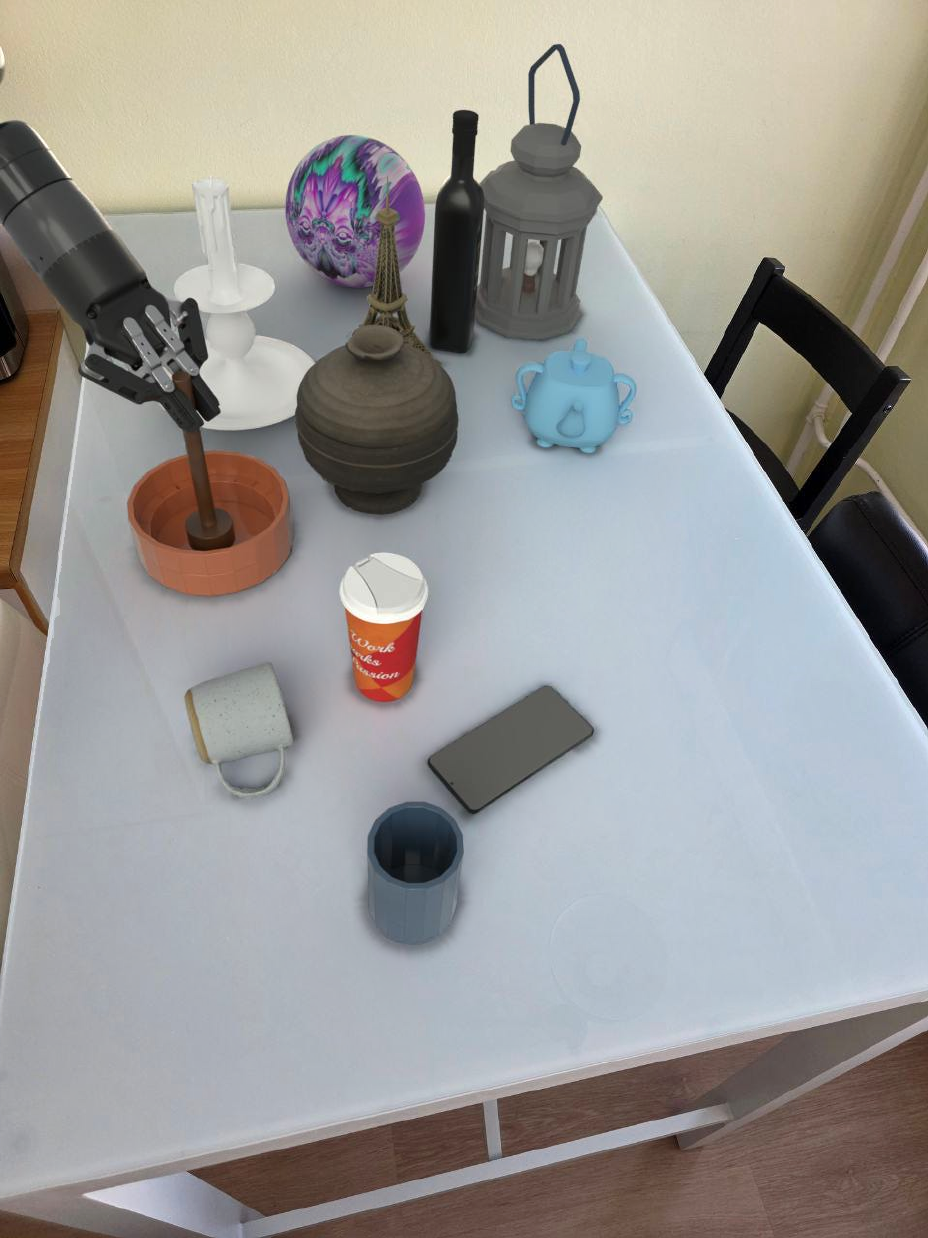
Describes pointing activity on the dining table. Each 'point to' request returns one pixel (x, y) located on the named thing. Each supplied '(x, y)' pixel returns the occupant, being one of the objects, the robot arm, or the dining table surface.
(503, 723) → the smartphone
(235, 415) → the candlestick
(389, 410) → the pot
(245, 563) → the mixing bowl
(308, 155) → the decorative sphere
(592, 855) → the dining table surface
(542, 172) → the lantern
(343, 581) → the paper cup
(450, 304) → the wine bottle
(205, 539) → the brown wooden plunger
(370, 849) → the crock
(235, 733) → the ceramic mug
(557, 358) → the blue sugar bowl
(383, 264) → the eiffel tower
